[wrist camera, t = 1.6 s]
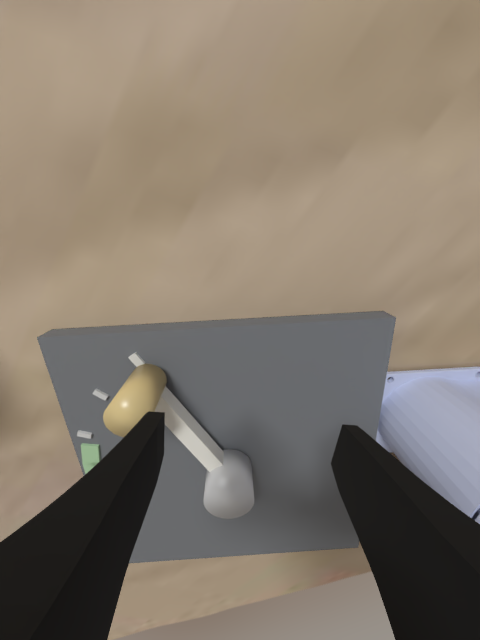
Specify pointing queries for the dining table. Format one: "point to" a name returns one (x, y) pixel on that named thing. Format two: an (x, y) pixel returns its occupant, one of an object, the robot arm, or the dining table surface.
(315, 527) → the dial board
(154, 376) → the dial pointer
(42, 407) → the dining table surface
